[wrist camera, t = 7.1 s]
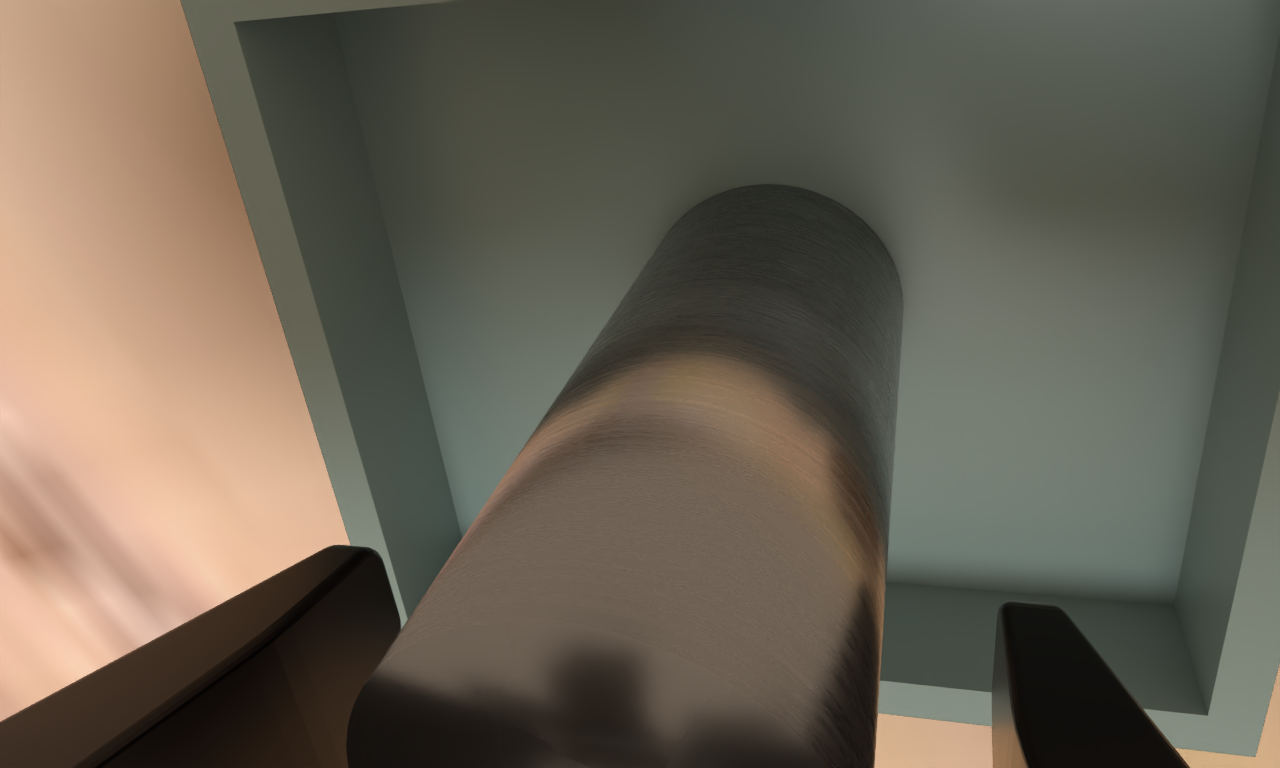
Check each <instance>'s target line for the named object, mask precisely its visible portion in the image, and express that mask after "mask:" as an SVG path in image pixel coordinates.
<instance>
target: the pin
mask: <svg viewBox="0 0 1280 768" xmlns="http://www.w3.org/2000/svg"><path fill="white" fill-rule="evenodd" d="M903 312H904V307H903V292H902V287H901V283H900V278H899V275H898V272H897V269H896V267H895V264H894V261H893V259H892V258H891V256H890V254H889V252H888V250H887V248H886V246H885V245H884V244H883V242H882V241H881V240H880V238H879V237H878V236H877V234H876V233H875V232H874V231H873V230H872V229H871V228H870V227H869V226H868V224H867V223H866V222H865V221H864V220H863V219H861V218H860V217H859V216H857V215H856V214H855V213H854V212H852V211H851V210H850V209H849V208H847V207H845V206H844V205H842V204H840V203H839V202H837V201H835V200H833V199H831V198H829V197H827V196H824V195H822V194H820V193H817V192H814V191H811V190H807V189H804V188H800V187H795V186H788V185H782V184H758V185H748V186H743V187H738V188H734V189H730V190H727V191H724V192H722V193H719V194H716V195H714V196H712V197H710V198H708V199H706V200H704V201H702V202H701V203H699V204H697V205H696V206H695V207H693V208H692V209H690V210H689V211H688V212H686V213H685V214H684V215H683V216H682V217H681V218H680V219H679V220H678V221H677V222H676V223H675V224H674V225H673V226H672V228H671V229H670V230H669V231H668V233H667V234H666V235H665V237H664V238H663V240H662V241H661V243H660V244H659V246H658V247H657V248H656V250H655V251H654V253H653V254H652V256H651V257H650V259H649V260H648V262H647V263H646V265H645V266H644V268H643V269H642V271H641V272H640V274H639V275H638V277H637V278H636V280H635V281H634V283H633V284H632V286H631V287H630V289H629V290H628V292H627V293H626V295H625V296H624V298H623V299H622V301H621V302H620V304H619V305H618V307H617V308H616V310H615V311H614V313H613V314H612V316H611V317H610V319H609V320H608V322H607V323H606V325H605V326H604V328H603V329H602V331H601V332H600V334H599V335H598V337H597V338H596V340H595V341H594V343H593V344H592V345H591V347H590V348H589V350H588V351H587V353H586V354H585V356H584V357H583V359H582V360H581V362H580V363H579V365H578V366H577V368H576V369H575V371H574V372H573V374H572V375H571V377H570V378H569V380H568V381H567V383H566V384H565V386H564V387H563V389H562V390H561V392H560V393H559V395H558V396H557V398H556V399H555V401H554V402H553V404H552V405H551V407H550V408H549V410H548V411H547V413H546V414H545V416H544V417H543V419H542V420H541V422H540V423H539V425H538V426H537V428H536V429H535V431H534V432H533V434H532V435H531V437H530V438H529V440H528V441H527V443H526V444H525V445H524V447H523V448H522V450H521V451H520V453H519V454H518V456H517V457H516V459H515V460H514V462H513V463H512V465H511V466H510V468H509V469H508V471H507V472H506V474H505V475H504V477H503V478H502V480H501V481H500V483H499V484H498V486H497V487H496V489H495V490H494V492H493V493H492V495H491V496H490V498H489V499H488V501H487V502H486V504H485V505H484V507H483V508H482V510H481V511H480V513H479V514H478V516H477V517H476V519H475V520H474V522H473V523H472V525H471V526H470V528H469V529H468V531H467V532H466V534H465V535H464V537H463V538H462V540H461V541H460V543H459V544H458V545H457V547H456V548H455V550H454V551H453V553H452V554H451V556H450V557H449V559H448V560H447V562H446V563H445V565H444V566H443V568H442V569H441V571H440V572H439V574H438V575H437V577H436V578H435V580H434V581H433V583H432V584H431V586H430V587H429V589H428V590H427V592H426V593H425V595H424V596H423V598H422V599H421V601H420V602H419V604H418V605H417V607H416V608H415V610H414V611H413V613H412V614H411V616H410V617H409V619H408V620H407V622H406V623H405V625H404V626H403V628H402V629H401V631H400V632H399V634H398V635H397V637H396V638H395V640H394V641H393V643H392V644H391V645H390V647H389V648H388V650H387V651H386V653H385V654H384V656H383V657H382V659H381V660H380V662H379V663H378V665H377V666H376V668H375V669H374V671H373V672H372V674H371V675H370V677H369V678H368V680H367V681H366V683H365V684H364V686H363V688H362V690H361V691H360V693H359V695H358V697H357V699H356V701H355V703H354V705H353V708H352V712H351V715H350V719H349V723H348V727H347V742H346V751H347V760H348V768H874V762H875V747H876V731H877V716H878V700H879V685H880V669H881V654H882V638H883V622H884V607H885V591H886V576H887V560H888V545H889V529H890V514H891V498H892V483H893V467H894V452H895V436H896V420H897V405H898V389H899V374H900V358H901V343H902V327H903Z"/></svg>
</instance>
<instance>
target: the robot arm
mask: <svg viewBox="0 0 1280 768" xmlns="http://www.w3.org/2000/svg"><path fill="white" fill-rule="evenodd" d="M400 631H401V621H400V615H399V612H398V608H397V605H396V602H395V598H394V595H393V592H392V588H391V585H390V581H389V578H388V575H387V571H386V568H385V565H384V562H383V559H382V557H381V556H380V554H379V553H378V552H377V551H376V550H374V549H372V548H369V547H360V546H348V545H333V546H329V547H327V548H325V549H323V550H321V551H319V552H317V553H315V554H313V555H312V556H310V557H308V558H306V559H304V560H302V561H300V562H298V563H297V564H295V565H293V566H291V567H289V568H287V569H285V570H283V571H282V572H280V573H278V574H276V575H274V576H272V577H270V578H268V579H267V580H265V581H263V582H261V583H259V584H257V585H255V586H253V587H252V588H250V589H248V590H246V591H244V592H242V593H240V594H239V595H237V596H235V597H233V598H231V599H229V600H227V601H225V602H224V603H222V604H220V605H218V606H216V607H214V608H212V609H210V610H209V611H207V612H205V613H203V614H201V615H199V616H197V617H195V618H194V619H192V620H190V621H188V622H186V623H184V624H182V625H181V626H179V627H177V628H175V629H173V630H171V631H169V632H167V633H166V634H164V635H162V636H160V637H158V638H156V639H154V640H152V641H151V642H149V643H147V644H145V645H143V646H141V647H139V648H137V649H136V650H134V651H132V652H130V653H128V654H126V655H124V656H122V657H121V658H119V659H117V660H115V661H113V662H111V663H109V664H108V665H106V666H104V667H102V668H100V669H98V670H96V671H94V672H93V673H91V674H89V675H87V676H85V677H83V678H81V679H79V680H78V681H76V682H74V683H72V684H70V685H68V686H66V687H64V688H63V689H61V690H59V691H57V692H55V693H53V694H51V695H49V696H48V697H46V698H44V699H42V700H40V701H38V702H36V703H35V704H33V705H31V706H29V707H27V708H25V709H23V710H21V711H20V712H18V713H16V714H14V715H12V716H10V717H8V718H6V719H5V720H3V721H1V722H0V768H348V760H347V751H346V742H347V727H348V723H349V719H350V715H351V712H352V708H353V705H354V703H355V701H356V699H357V697H358V695H359V693H360V691H361V690H362V688H363V686H364V684H365V683H366V681H367V680H368V678H369V677H370V675H371V674H372V672H373V671H374V669H375V668H376V666H377V665H378V663H379V662H380V660H381V659H382V657H383V656H384V654H385V653H386V651H387V650H388V648H389V647H390V645H391V644H392V643H393V641H394V640H395V638H396V637H397V635H398V634H399V632H400ZM992 748H993V768H1190V767H1189V766H1188V764H1187V763H1186V762H1185V761H1184V759H1183V758H1182V757H1181V756H1180V754H1179V753H1178V752H1177V751H1176V749H1175V748H1174V747H1173V746H1172V744H1171V743H1170V742H1169V741H1168V739H1167V738H1166V737H1165V736H1164V734H1163V733H1162V732H1161V731H1160V729H1159V728H1158V727H1157V726H1156V724H1155V723H1154V722H1153V721H1152V719H1151V718H1150V717H1149V716H1148V714H1147V713H1146V712H1145V711H1144V709H1143V708H1142V707H1141V706H1140V704H1139V703H1138V702H1137V701H1136V699H1135V698H1134V697H1133V696H1132V694H1131V693H1130V692H1129V691H1128V689H1127V688H1126V687H1125V686H1124V684H1123V683H1122V682H1121V681H1120V679H1119V678H1118V677H1117V676H1116V674H1115V673H1114V672H1113V671H1112V669H1111V668H1110V667H1109V666H1108V664H1107V663H1106V662H1105V661H1104V659H1103V658H1102V657H1101V656H1100V654H1099V653H1098V652H1097V651H1096V649H1095V648H1094V647H1093V646H1092V644H1091V643H1090V642H1089V641H1088V639H1087V638H1086V637H1085V636H1084V634H1083V633H1082V632H1081V631H1080V629H1079V628H1078V627H1077V626H1076V624H1075V623H1074V622H1073V621H1072V619H1071V618H1070V617H1069V616H1068V614H1067V613H1066V612H1065V611H1064V610H1063V609H1062V608H1061V607H1059V606H1057V605H1055V604H1051V603H1039V602H1026V601H1014V600H1006V601H1004V602H1002V603H1001V605H1000V606H999V609H998V615H997V626H996V639H995V652H994V666H993V679H992Z"/></svg>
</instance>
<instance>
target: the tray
mask: <svg viewBox="0 0 1280 768" xmlns="http://www.w3.org/2000/svg"><path fill="white" fill-rule="evenodd" d="M181 4H182V7H183V10H184V13H185V16H186V20H187V23H188V26H189V29H190V32H191V36H192V39H193V42H194V45H195V48H196V52H197V55H198V58H199V61H200V64H201V68H202V71H203V74H204V77H205V80H206V84H207V87H208V90H209V93H210V96H211V100H212V103H213V106H214V109H215V113H216V116H217V119H218V122H219V125H220V129H221V132H222V135H223V138H224V141H225V145H226V148H227V151H228V154H229V157H230V161H231V164H232V167H233V170H234V173H235V177H236V180H237V183H238V186H239V189H240V193H241V196H242V199H243V202H244V205H245V209H246V212H247V215H248V218H249V221H250V225H251V228H252V231H253V234H254V237H255V241H256V244H257V247H258V250H259V253H260V257H261V260H262V263H263V266H264V269H265V273H266V276H267V279H268V282H269V285H270V289H271V292H272V295H273V298H274V301H275V305H276V308H277V311H278V314H279V317H280V321H281V324H282V327H283V330H284V333H285V337H286V340H287V343H288V346H289V349H290V353H291V356H292V359H293V362H294V365H295V369H296V372H297V375H298V378H299V381H300V385H301V388H302V391H303V394H304V397H305V401H306V404H307V407H308V410H309V413H310V417H311V420H312V423H313V426H314V429H315V433H316V436H317V439H318V442H319V445H320V449H321V452H322V455H323V458H324V461H325V465H326V468H327V471H328V474H329V477H330V481H331V484H332V487H333V490H334V493H335V497H336V500H337V503H338V506H339V509H340V513H341V516H342V519H343V522H344V525H345V529H346V532H347V535H348V538H349V541H350V545H351V546H360V547H369V548H372V549H374V550H376V551H377V552H378V553H379V554H380V556H381V557H382V559H383V562H384V565H385V568H386V571H387V575H388V578H389V581H390V585H391V588H392V592H393V595H394V598H395V602H396V605H397V608H398V612H399V615H400V621H401V629H402V628H403V626H404V625H405V623H406V622H407V620H408V619H409V617H410V616H411V614H412V613H413V611H414V610H415V608H416V607H417V605H418V604H419V602H420V601H421V599H422V598H423V596H424V595H425V593H426V592H427V590H428V589H429V587H430V586H431V584H432V583H433V581H434V580H435V578H436V577H437V575H438V574H439V572H440V571H441V569H442V568H443V566H444V565H445V563H446V562H447V560H448V559H449V557H450V556H451V554H452V553H453V551H454V550H455V548H456V547H457V545H458V544H459V543H460V541H461V540H462V538H463V537H464V535H465V534H466V532H467V531H468V529H469V528H470V526H471V525H472V523H473V522H474V520H475V519H476V517H477V516H478V514H479V513H480V511H481V510H482V508H483V507H484V505H485V504H486V502H487V501H488V499H489V498H490V496H491V495H492V493H493V492H494V490H495V489H496V487H497V486H498V484H499V483H500V481H501V480H502V478H503V477H504V475H505V474H506V472H507V471H508V469H509V468H510V466H511V465H512V463H513V462H514V460H515V459H516V457H517V456H518V454H519V453H520V451H521V450H522V448H523V447H524V445H525V444H526V443H527V441H528V440H529V438H530V437H531V435H532V434H533V432H534V431H535V429H536V428H537V426H538V425H539V423H540V422H541V420H542V419H543V417H544V416H545V414H546V413H547V411H548V410H549V408H550V407H551V405H552V404H553V402H554V401H555V399H556V398H557V396H558V395H559V393H560V392H561V390H562V389H563V387H564V386H565V384H566V383H567V381H568V380H569V378H570V377H571V375H572V374H573V372H574V371H575V369H576V368H577V366H578V365H579V363H580V362H581V360H582V359H583V357H584V356H585V354H586V353H587V351H588V350H589V348H590V347H591V345H592V344H593V343H594V341H595V340H596V338H597V337H598V335H599V334H600V332H601V331H602V329H603V328H604V326H605V325H606V323H607V322H608V320H609V319H610V317H611V316H612V314H613V313H614V311H615V310H616V308H617V307H618V305H619V304H620V302H621V301H622V299H623V298H624V296H625V295H626V293H627V292H628V290H629V289H630V287H631V286H632V284H633V283H634V281H635V280H636V278H637V277H638V275H639V274H640V272H641V271H642V269H643V268H644V266H645V265H646V263H647V262H648V260H649V259H650V257H651V256H652V254H653V253H654V251H655V250H656V248H657V247H658V246H659V244H660V243H661V241H662V240H663V238H664V237H665V235H666V234H667V233H668V231H669V230H670V229H671V228H672V226H673V225H674V224H675V223H676V222H677V221H678V220H679V219H680V218H681V217H682V216H683V215H684V214H685V213H686V212H688V211H689V210H690V209H692V208H693V207H695V206H696V205H697V204H699V203H701V202H702V201H704V200H706V199H708V198H710V197H712V196H714V195H716V194H719V193H722V192H724V191H727V190H730V189H734V188H738V187H743V186H748V185H758V184H782V185H788V186H795V187H800V188H804V189H807V190H811V191H814V192H817V193H820V194H822V195H824V196H827V197H829V198H831V199H833V200H835V201H837V202H839V203H840V204H842V205H844V206H845V207H847V208H849V209H850V210H851V211H852V212H854V213H855V214H856V215H857V216H859V217H860V218H861V219H863V220H864V221H865V222H866V223H867V224H868V226H869V227H870V228H871V229H872V230H873V231H874V232H875V233H876V234H877V236H878V237H879V238H880V240H881V241H882V242H883V244H884V245H885V246H886V248H887V250H888V252H889V254H890V256H891V258H892V259H893V261H894V264H895V267H896V269H897V272H898V275H899V278H900V283H901V287H902V292H903V307H904V312H903V327H902V343H901V358H900V374H899V389H898V405H897V420H896V436H895V452H894V467H893V483H892V498H891V514H890V529H889V545H888V560H887V576H886V591H885V607H884V622H883V638H882V654H881V669H880V685H879V700H878V713H882V714H890V715H899V716H907V717H916V718H924V719H933V720H942V721H950V722H959V723H967V724H976V725H984V726H992V679H993V666H994V652H995V639H996V626H997V615H998V609H999V606H1000V605H1001V603H1002V602H1004V601H1006V600H1014V601H1026V602H1039V603H1051V604H1055V605H1057V606H1059V607H1061V608H1062V609H1063V610H1064V611H1065V612H1066V613H1067V614H1068V616H1069V617H1070V618H1071V619H1072V621H1073V622H1074V623H1075V624H1076V626H1077V627H1078V628H1079V629H1080V631H1081V632H1082V633H1083V634H1084V636H1085V637H1086V638H1087V639H1088V641H1089V642H1090V643H1091V644H1092V646H1093V647H1094V648H1095V649H1096V651H1097V652H1098V653H1099V654H1100V656H1101V657H1102V658H1103V659H1104V661H1105V662H1106V663H1107V664H1108V666H1109V667H1110V668H1111V669H1112V671H1113V672H1114V673H1115V674H1116V676H1117V677H1118V678H1119V679H1120V681H1121V682H1122V683H1123V684H1124V686H1125V687H1126V688H1127V689H1128V691H1129V692H1130V693H1131V694H1132V696H1133V697H1134V698H1135V699H1136V701H1137V702H1138V703H1139V704H1140V706H1141V707H1142V708H1143V709H1144V711H1145V712H1146V713H1147V714H1148V716H1149V717H1150V718H1151V719H1152V721H1153V722H1154V723H1155V724H1156V726H1157V727H1158V728H1159V729H1160V731H1161V732H1162V733H1163V734H1164V736H1165V737H1166V738H1167V739H1168V741H1169V742H1170V743H1171V744H1172V746H1173V747H1174V748H1181V749H1190V750H1198V751H1207V752H1215V753H1224V754H1232V755H1241V756H1250V757H1255V756H1256V753H1257V749H1258V745H1259V741H1260V737H1261V733H1262V729H1263V726H1264V722H1265V718H1266V714H1267V710H1268V706H1269V702H1270V698H1271V695H1272V691H1273V687H1274V683H1275V679H1276V675H1277V671H1278V667H1279V664H1280V0H181Z"/></svg>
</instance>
